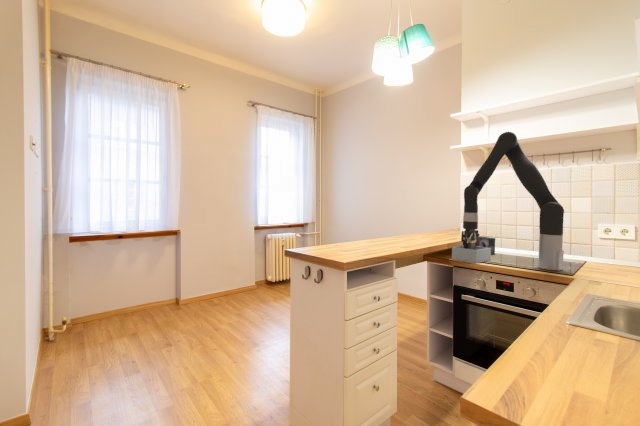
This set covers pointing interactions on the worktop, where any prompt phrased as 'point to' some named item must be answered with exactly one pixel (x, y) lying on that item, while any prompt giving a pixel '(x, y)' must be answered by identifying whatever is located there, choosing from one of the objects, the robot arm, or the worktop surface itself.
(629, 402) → the worktop surface
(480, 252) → the walled box
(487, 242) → the small box
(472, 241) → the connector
